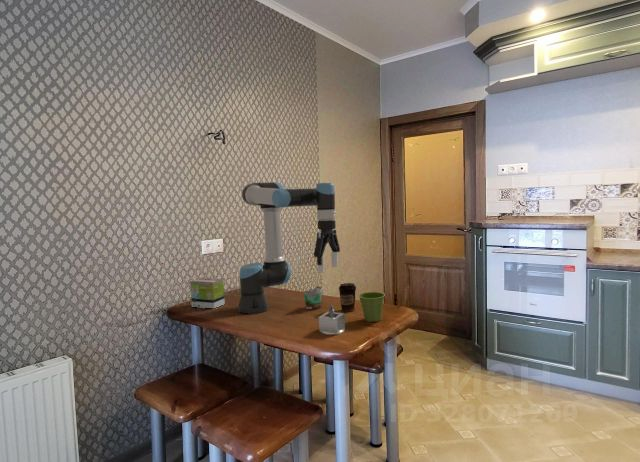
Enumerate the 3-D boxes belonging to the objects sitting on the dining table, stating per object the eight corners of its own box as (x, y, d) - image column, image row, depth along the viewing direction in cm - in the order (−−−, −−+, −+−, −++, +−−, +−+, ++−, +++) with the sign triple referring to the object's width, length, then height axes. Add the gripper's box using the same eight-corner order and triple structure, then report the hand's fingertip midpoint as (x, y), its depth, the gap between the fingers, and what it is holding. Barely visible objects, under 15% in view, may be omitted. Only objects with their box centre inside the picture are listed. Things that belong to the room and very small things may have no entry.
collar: (319, 331, 158) (318, 317, 157) (327, 325, 165) (327, 311, 165) (337, 333, 154) (336, 318, 154) (345, 327, 161) (344, 313, 161)
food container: (314, 312, 188) (313, 291, 188) (304, 310, 192) (303, 291, 191) (327, 305, 199) (326, 286, 198) (317, 304, 202) (316, 285, 201)
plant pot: (365, 314, 180) (364, 291, 179) (390, 317, 174) (389, 292, 173) (354, 322, 170) (353, 296, 169) (380, 325, 164) (379, 299, 163)
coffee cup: (355, 313, 184) (354, 285, 183) (338, 312, 185) (337, 286, 184) (357, 308, 192) (356, 282, 191) (341, 307, 194) (340, 282, 193)
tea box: (191, 308, 208) (189, 281, 207) (203, 303, 217) (201, 277, 216) (214, 309, 202) (212, 281, 201) (225, 304, 212) (223, 278, 211)
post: (316, 333, 157) (314, 306, 157) (326, 325, 166) (325, 300, 166) (338, 335, 153) (337, 308, 152) (348, 328, 162) (347, 302, 161)
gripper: (321, 221, 150) (322, 275, 152) (346, 217, 172) (347, 265, 174) (304, 222, 153) (306, 274, 155) (331, 217, 175) (332, 264, 177)
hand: (328, 269), depth 164 cm, fingers open, 13 cm apart
